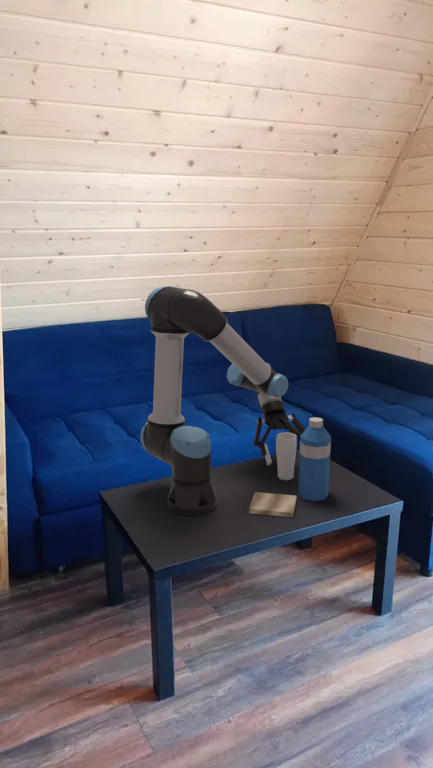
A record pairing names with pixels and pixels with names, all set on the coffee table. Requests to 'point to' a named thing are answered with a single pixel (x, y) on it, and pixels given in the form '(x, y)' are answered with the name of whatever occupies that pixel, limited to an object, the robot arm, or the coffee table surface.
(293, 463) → the drinking glass
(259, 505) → the birch board
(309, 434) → the water bottle
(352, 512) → the coffee table surface
